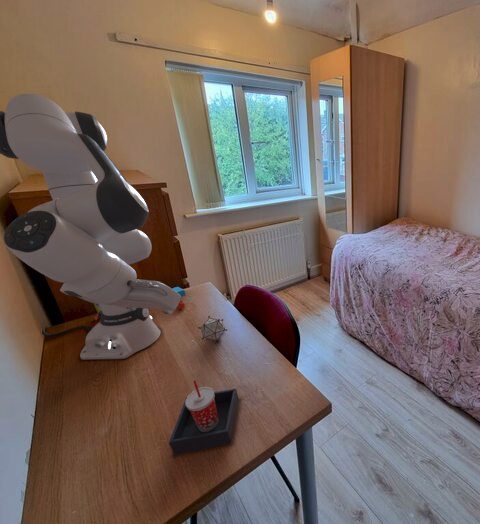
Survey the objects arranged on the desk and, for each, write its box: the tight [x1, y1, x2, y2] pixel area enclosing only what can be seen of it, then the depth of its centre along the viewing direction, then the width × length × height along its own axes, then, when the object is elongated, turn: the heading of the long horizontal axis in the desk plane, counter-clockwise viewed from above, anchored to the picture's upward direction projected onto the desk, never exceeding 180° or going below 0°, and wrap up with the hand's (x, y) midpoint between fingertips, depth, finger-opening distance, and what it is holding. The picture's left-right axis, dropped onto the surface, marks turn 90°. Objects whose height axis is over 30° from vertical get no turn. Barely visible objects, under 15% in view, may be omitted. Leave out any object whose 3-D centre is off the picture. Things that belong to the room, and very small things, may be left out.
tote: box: [168, 388, 240, 456], centre depth 70 cm, size 12×12×4 cm
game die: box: [197, 315, 228, 343], centre depth 99 cm, size 9×8×10 cm
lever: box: [171, 286, 187, 311], centre depth 123 cm, size 7×7×18 cm
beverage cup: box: [184, 380, 219, 432], centre depth 67 cm, size 6×6×14 cm
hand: (152, 309), depth 67 cm, fingers open, 8 cm apart
